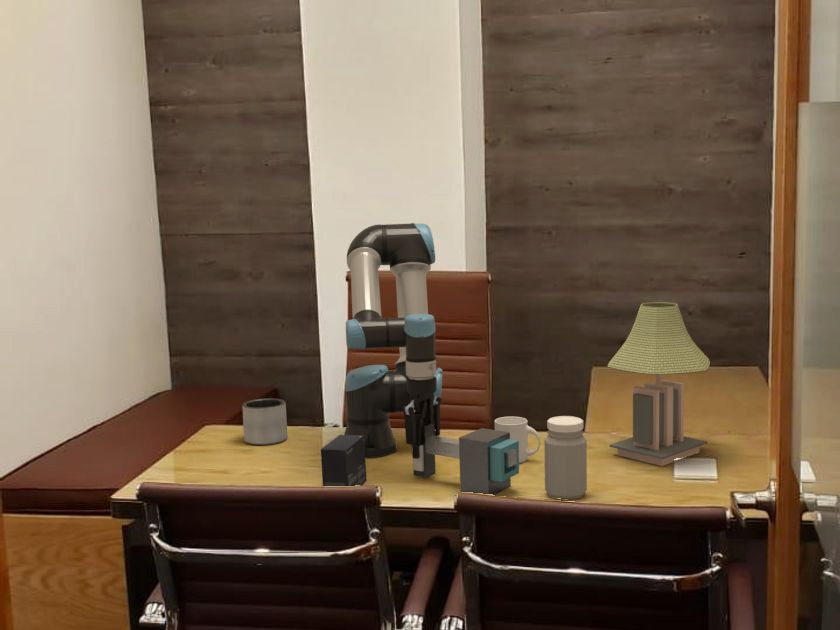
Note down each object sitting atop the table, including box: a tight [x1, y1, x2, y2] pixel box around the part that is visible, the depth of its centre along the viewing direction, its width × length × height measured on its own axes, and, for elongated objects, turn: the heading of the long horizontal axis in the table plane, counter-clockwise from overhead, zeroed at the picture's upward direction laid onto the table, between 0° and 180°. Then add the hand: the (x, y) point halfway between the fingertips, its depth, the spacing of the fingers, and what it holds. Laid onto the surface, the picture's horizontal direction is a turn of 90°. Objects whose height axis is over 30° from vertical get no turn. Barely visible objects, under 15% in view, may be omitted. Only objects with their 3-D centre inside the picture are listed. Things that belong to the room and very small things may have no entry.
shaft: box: [412, 422, 517, 479], centre depth 250 cm, size 28×4×13 cm, turn 54°
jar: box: [543, 415, 588, 500], centre depth 241 cm, size 10×10×18 cm
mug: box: [494, 416, 541, 464], centre depth 270 cm, size 9×12×11 cm
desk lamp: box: [607, 301, 711, 467], centre depth 270 cm, size 26×28×40 cm
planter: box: [242, 397, 288, 446], centre depth 297 cm, size 12×13×11 cm
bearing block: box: [458, 427, 512, 496], centre depth 246 cm, size 8×10×14 cm
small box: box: [320, 434, 368, 487], centre depth 251 cm, size 13×7×12 cm, turn 163°
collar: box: [490, 439, 520, 482], centre depth 243 cm, size 3×8×8 cm, turn 143°
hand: (424, 467), depth 258 cm, fingers closed on shaft, 4 cm apart
